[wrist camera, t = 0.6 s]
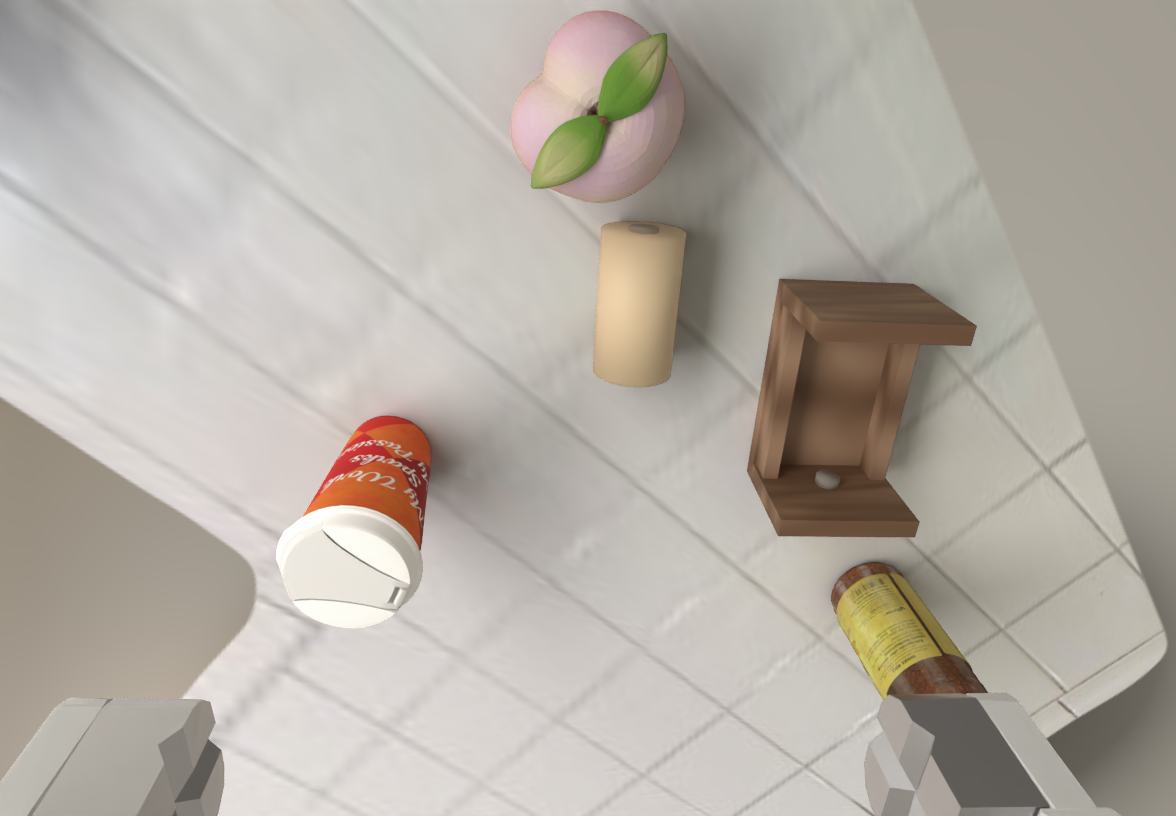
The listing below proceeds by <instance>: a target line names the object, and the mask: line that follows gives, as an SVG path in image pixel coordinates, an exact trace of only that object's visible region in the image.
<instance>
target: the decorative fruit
mask: <svg viewBox="0 0 1176 816" xmlns="http://www.w3.org/2000/svg"><path fill="white" fill-rule="evenodd" d="M684 109H685V100H684V91H683V87H682V83H681V80H680V77H679V74H678V72H677V70H676V67H675V66H674V64H673V62H672V61H671V59H670V58H669V57H668V55H667V35H666V34H665V33H662V34H657V35H653V36H651V35H650V34H649V33H648V32H647V31H646V30H645V29H644V28H643V27H642V26H640V25H639V24H638V23H636V22H635V21H633V20H632V19H630V18H628V17H626V16H624V15H621V14H618V13H614V12H610V11H597V10H596V11H590V12H585V13H582V14H580V15H578V16H576V17H574V18H572V19H571V20H569V21H568V22H567V23H565V24H564V25H563V26H562V27H561V28H560V29H559V30H558V31H557V32H556V34H555V35H554V36H553V38H552V39H551V41H550V43H549V45H548V48H547V51H546V55H545V61H544V68H543V72H542V74H541V75H540V76H539V77H538V78H536V79H535V80H533V81H532V82H531V83H529V84H528V85H527V86H526V88H525V89H524V90H523V91H522V92H521V94H520V95H519V96H518V98H517V100H516V103H515V105H514V108H513V112H512V117H511V125H510V128H511V139H512V143H513V147H514V150H515V152H516V154H517V156H518V158H519V160H520V161H521V163H522V164H523V166H524V167H525V168H526V169H527V170H528V172H529V173H530V174H531V175H532V181H531V187H532V188H533V189H534V188H540V189H543V188H551V189H553V190H555V191H557V192H559V193H562V194H564V195H567V196H570V197H573V198H576V199H579V200H583V201H587V202H594V203H604V202H611V201H616V200H619V199H622V198H625V197H627V196H629V195H632V194H633V193H635V192H637V191H638V190H640V189H642V188H643V187H644V186H646V185H647V184H648V183H649V182H650V181H651V180H652V179H653V178H654V177H655V176H656V175H657V174H658V172H659V171H660V170H661V168H662V167H663V165H664V164H665V162H666V161H667V159H668V158H669V156H670V155H671V153H672V152H673V150H674V148H675V146H676V144H677V141H678V138H679V135H680V132H681V128H682V124H683V118H684Z"/></svg>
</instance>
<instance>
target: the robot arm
mask: <svg viewBox="0 0 1176 816" xmlns="http://www.w3.org/2000/svg"><path fill="white" fill-rule="evenodd" d="M877 718H878V720H879V722H880V724H881V726H882V728H883V730H884V731H883V732H882V733H880V734H879V735H878V736H877V737H876V738H874V739H873V740H872V741H871V742H870V743H869V745H868V749H867V753H866V758H865V762H864V768H865V786H866V790H867V794H868V797H869V801H870V805H871V807H872V809H873V812H874V814H875V816H1121V815H1120V814H1118V813H1117V812H1115V811H1114V810H1112V809H1111V808H1097V807H1096V806H1095V804H1094V803H1093V802H1092V800H1091V799H1090V797H1089V796H1088V795H1087V793H1086V792H1085V791H1084V789H1083V788H1082V787H1081V785H1080V784H1079V783H1078V781H1077V780H1076V778H1075V777H1074V776H1073V774H1072V773H1071V772H1070V771H1069V769H1068V768H1067V766H1066V765H1065V764H1064V762H1063V761H1062V760H1061V758H1060V757H1059V756H1058V754H1057V753H1056V752H1055V750H1054V749H1053V748H1052V746H1051V745H1050V743H1049V742H1048V741H1047V739H1046V738H1045V737H1044V735H1043V734H1042V733H1041V731H1040V730H1039V729H1038V727H1037V726H1036V725H1035V723H1034V722H1033V721H1032V719H1031V718H1030V716H1029V715H1028V714H1027V712H1026V711H1025V710H1024V708H1023V707H1022V706H1021V704H1020V703H1019V702H1018V701H1017V700H1016V699H1015V698H1014V697H1012V696H1011V695H1009V694H1008V693H967V694H962V693H950V694H893V695H888V696H887V697H886V698H885V699H884V700H883V701H882V702H881V706H880V709H879V712H878V715H877ZM215 723H216V722H215V718H214V715H213V711H212V707H211V703H210V702H209V701H205V700H198V699H145V698H114V699H106V698H68V699H67V700H65V701H64V702H62V703H61V704H59V705H58V706H56V707H55V708H54V709H53V710H52V712H51V713H50V714H49V716H48V717H47V719H46V720H45V721H44V723H43V724H42V725H41V727H40V728H39V730H38V731H37V732H36V734H35V735H34V737H33V738H32V739H31V741H30V742H29V743H28V745H27V746H26V747H25V749H24V750H23V751H22V753H21V754H20V756H19V757H18V758H17V760H16V761H15V763H14V764H13V765H12V767H11V768H10V769H9V771H8V772H7V773H6V775H5V776H4V778H3V779H2V780H1V782H0V816H217V815H218V812H219V807H220V803H221V798H222V793H223V788H224V762H223V756H222V751H221V750H220V749H219V748H218V747H217V746H216V745H215V744H213V743H212V742H211V741H210V740H209V739H208V738H209V736H210V734H211V731H212V729H213V727H214V725H215Z"/></svg>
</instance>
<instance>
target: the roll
mask: <svg viewBox="0 0 1176 816" xmlns="http://www.w3.org/2000/svg"><path fill="white" fill-rule="evenodd" d="M685 241H686V232H685V231H683V230H682V229H680V228H677V227H674V226H670V225H666V224H660V223H654V222H635V221H621V222H613V223H608V224H605V225H603V226H602V228H601V244H600V261H599V277H598V293H597V309H596V325H595V341H594V357H593V372H594V373H595V375H596V376H598V377H599V378H600V379H602V380H604V381H607V382H609V383H612V384H616V385H621V386H628V387H649V386H655V385H659V384H662V383H664V382H666V381H667V380H668V379H669V378H670V376H671V368H672V359H673V350H674V341H675V332H676V323H677V314H678V305H679V295H680V286H681V277H682V268H683V259H684V250H685Z"/></svg>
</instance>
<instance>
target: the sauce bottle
mask: <svg viewBox="0 0 1176 816" xmlns="http://www.w3.org/2000/svg"><path fill="white" fill-rule="evenodd" d="M831 601H832V605H833V607H834V611H835V613H836V615H837V619H838V622H839V624H840V626H841V628H842V629H843V631H844V633H845V634H846V636H847V638H848V640H849V641H850V643H851V645H852V647H853V649H854V650H855V652H856V654H857V655H858V657H859V659H860V661H861V663H862V665H863V667H864V668H865V670H866V672H867V673H868V675H869V676H870V678H871V680H872V681H873V683H874V686H875V687H876V689H877V690H878V693H879V694H880V695H881V697H882V699H883V700H884V699H885V698H886V697H887V696H888V695H893V694H950V693H962V694H967V693H988V692H987V691H986V689H985V687H984V686H983V685H982V684H981V683H980V681H979V680H978V678H977V677H976V675H975V674H974V673H973V671H972V668H971V666H970V665H969V663H968V662H967V661H966V659H965V658H964V657H963V655H962V654H961V653H960V651H959V650H958V649H957V647H956V646H955V644H954V643H953V642H952V640H951V639H950V638H949V636H948V635H947V634H946V632H945V631H944V630H943V628H942V627H941V625H940V624H939V623H938V621H937V620H936V619H935V617H934V616H933V615H932V613H931V612H930V610H929V609H928V608H927V606H926V605H925V604H924V602H923V601H922V600H921V598H920V597H919V596H918V594H917V593H916V591H915V590H914V589H913V587H912V586H911V585H910V583H909V582H908V581H907V580H906V579H905V578H904V577H903V575H902V574H901V573H900V572H898V571H897V570H895V569H894V568H893V567H889V566H887V565H884V564H881V563H865V564H863V565H860V566H858V567H854V568H852V569H850V570H849V571H847V572H846V573H845V574H844V575H843V576H841V577H840V578H839V580H838V581H837V583H836V584H835V586H834V589H833V591H832V595H831Z"/></svg>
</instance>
